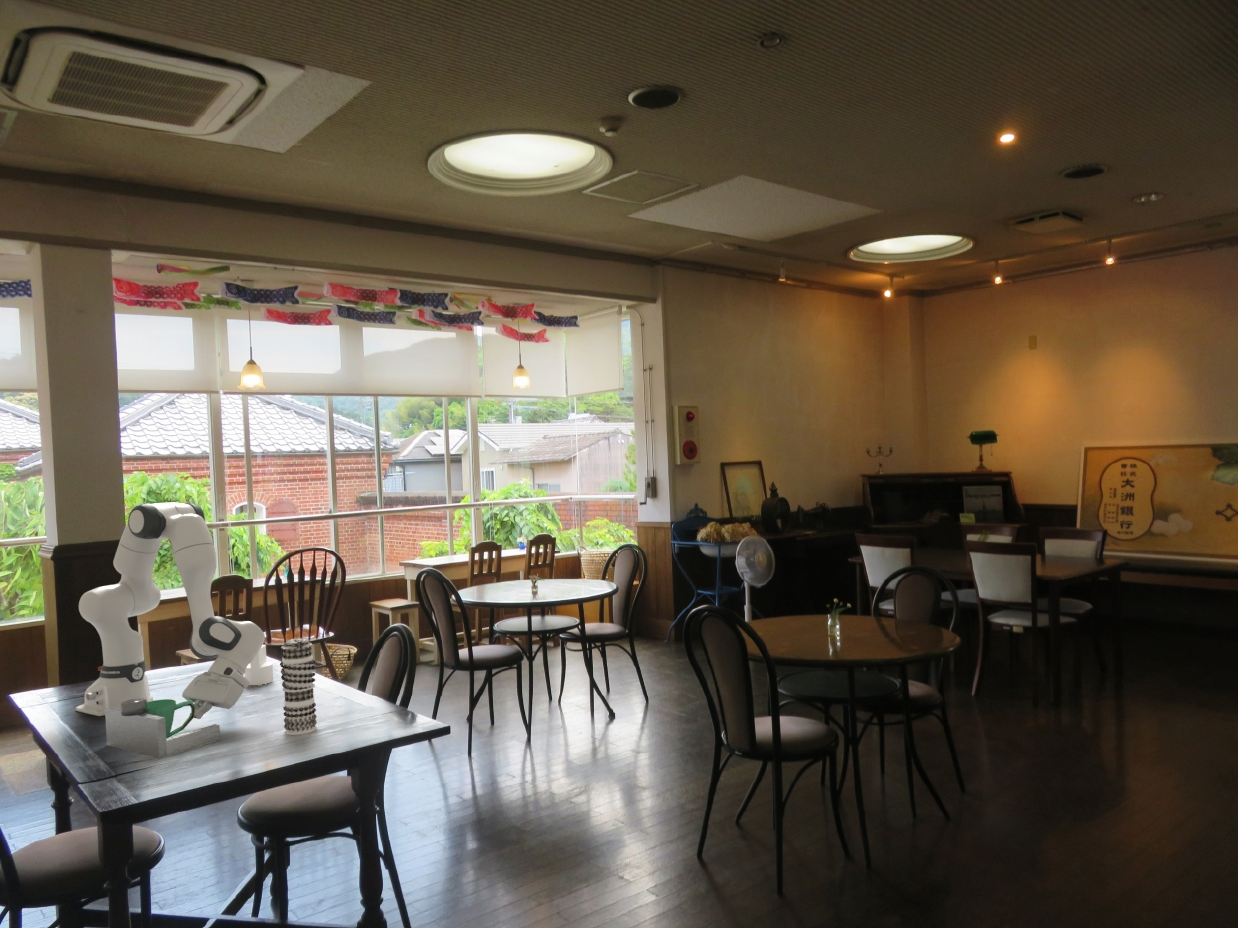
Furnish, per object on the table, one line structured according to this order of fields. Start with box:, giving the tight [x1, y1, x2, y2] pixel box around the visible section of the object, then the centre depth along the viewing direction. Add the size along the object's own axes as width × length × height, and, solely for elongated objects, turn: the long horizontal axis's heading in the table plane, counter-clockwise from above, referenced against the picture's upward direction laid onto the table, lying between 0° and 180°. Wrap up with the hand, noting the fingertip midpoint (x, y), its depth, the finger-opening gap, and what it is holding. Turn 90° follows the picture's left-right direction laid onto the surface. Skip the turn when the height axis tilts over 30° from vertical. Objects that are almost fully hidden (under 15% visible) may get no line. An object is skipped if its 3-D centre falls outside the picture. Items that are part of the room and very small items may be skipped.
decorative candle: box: [279, 637, 318, 736], centre depth 250 cm, size 9×9×25 cm
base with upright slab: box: [244, 644, 274, 686], centre depth 309 cm, size 9×9×12 cm
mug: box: [146, 698, 196, 739], centre depth 246 cm, size 15×10×10 cm
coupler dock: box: [104, 698, 221, 760], centre depth 243 cm, size 19×25×13 cm
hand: (194, 717), depth 251 cm, fingers closed
